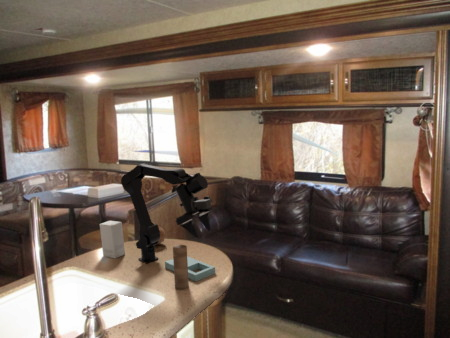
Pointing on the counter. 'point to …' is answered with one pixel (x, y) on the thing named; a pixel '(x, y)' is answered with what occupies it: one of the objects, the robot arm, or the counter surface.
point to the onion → (161, 236)
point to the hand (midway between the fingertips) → (203, 233)
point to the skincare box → (112, 239)
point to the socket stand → (194, 268)
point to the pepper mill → (180, 267)
